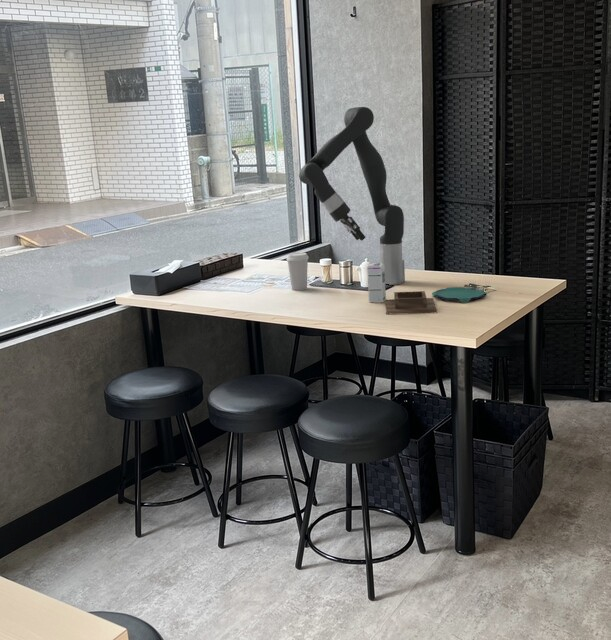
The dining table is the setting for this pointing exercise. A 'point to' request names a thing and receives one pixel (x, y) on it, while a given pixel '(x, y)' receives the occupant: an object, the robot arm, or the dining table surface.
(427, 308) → the socket stand
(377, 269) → the syrup box
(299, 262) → the coffee cup
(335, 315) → the dining table surface
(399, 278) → the robot arm
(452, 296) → the green flat pad
